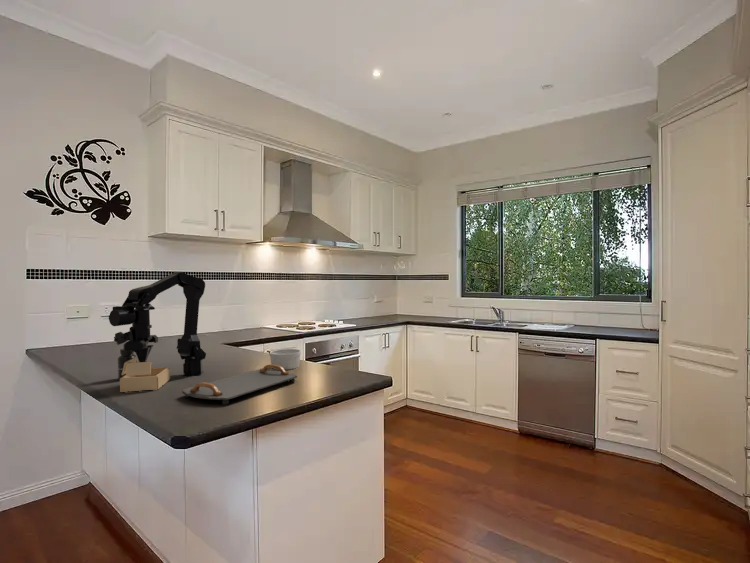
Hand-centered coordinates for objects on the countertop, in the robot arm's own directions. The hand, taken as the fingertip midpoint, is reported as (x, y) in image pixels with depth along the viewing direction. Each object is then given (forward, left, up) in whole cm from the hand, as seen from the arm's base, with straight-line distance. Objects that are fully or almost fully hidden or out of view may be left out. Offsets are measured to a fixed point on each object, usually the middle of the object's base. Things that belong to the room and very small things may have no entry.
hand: (142, 365), depth 162 cm
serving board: (-36, +13, -9) cm, 39 cm away
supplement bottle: (+11, -19, -8) cm, 24 cm away
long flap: (+6, -3, -2) cm, 7 cm away
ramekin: (-51, -21, -8) cm, 55 cm away
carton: (0, -3, -8) cm, 9 cm away
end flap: (0, +5, -2) cm, 6 cm away
